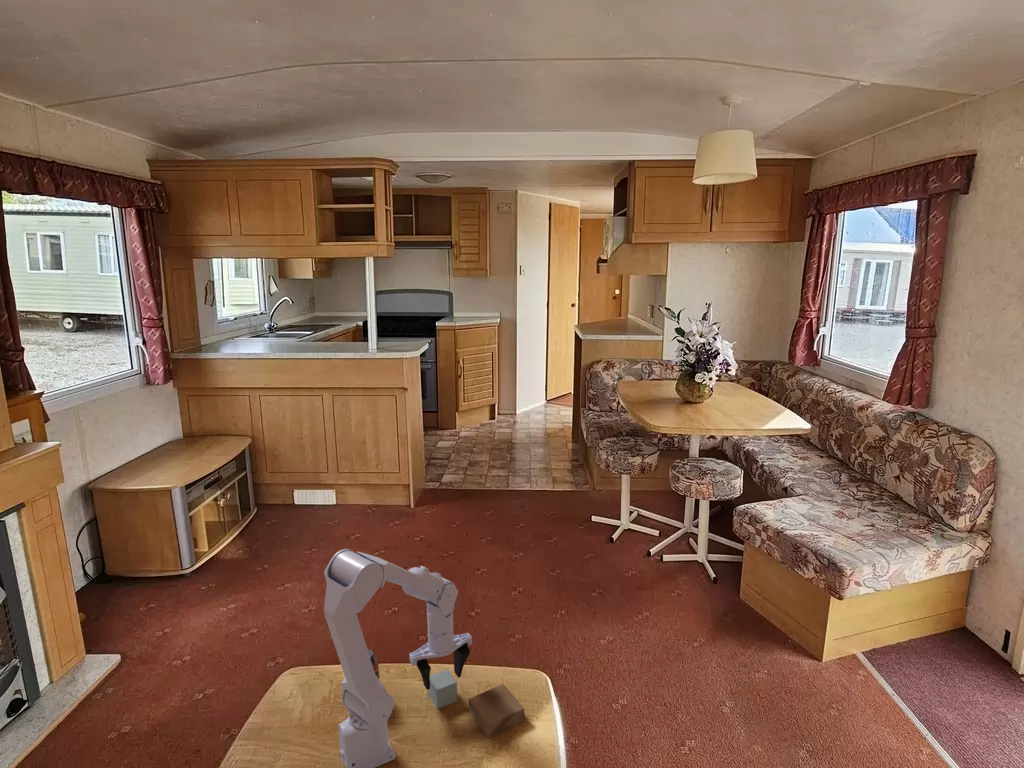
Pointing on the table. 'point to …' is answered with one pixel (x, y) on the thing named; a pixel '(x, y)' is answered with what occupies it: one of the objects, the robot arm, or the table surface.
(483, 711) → the walnut block
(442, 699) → the grey cube
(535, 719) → the table surface
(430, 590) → the robot arm
